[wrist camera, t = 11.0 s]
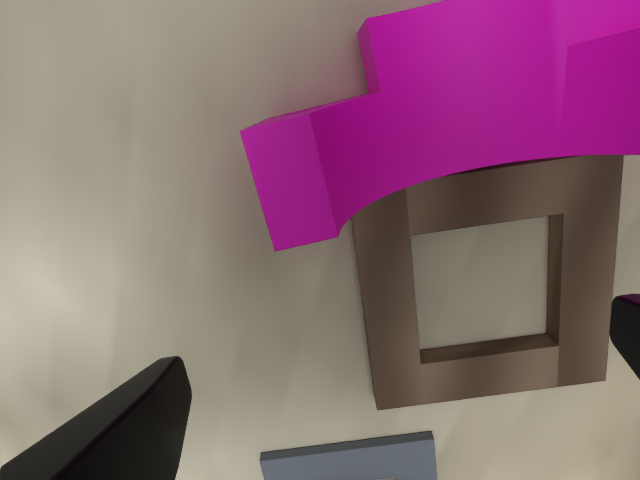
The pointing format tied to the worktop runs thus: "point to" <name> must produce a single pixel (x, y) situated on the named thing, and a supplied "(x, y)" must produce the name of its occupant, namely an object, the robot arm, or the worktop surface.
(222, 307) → the worktop surface
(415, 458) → the rubber mat
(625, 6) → the toy block
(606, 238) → the walnut collar
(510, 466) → the worktop surface
